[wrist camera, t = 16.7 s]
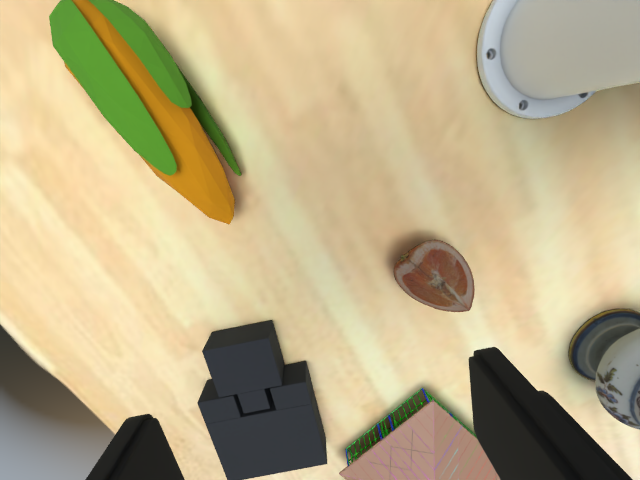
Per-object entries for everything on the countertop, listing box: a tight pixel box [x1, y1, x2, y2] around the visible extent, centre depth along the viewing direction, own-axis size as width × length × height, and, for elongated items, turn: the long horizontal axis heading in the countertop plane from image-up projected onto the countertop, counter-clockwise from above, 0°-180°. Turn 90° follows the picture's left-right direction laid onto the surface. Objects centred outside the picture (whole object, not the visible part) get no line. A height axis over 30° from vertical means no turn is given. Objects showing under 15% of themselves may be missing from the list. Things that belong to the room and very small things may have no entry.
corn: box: [49, 0, 241, 224], centre depth 26 cm, size 7×8×20 cm
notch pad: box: [198, 361, 327, 480], centre depth 37 cm, size 12×12×4 cm
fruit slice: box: [394, 240, 474, 312], centre depth 32 cm, size 8×7×5 cm
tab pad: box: [202, 320, 284, 413], centre depth 35 cm, size 7×9×4 cm
